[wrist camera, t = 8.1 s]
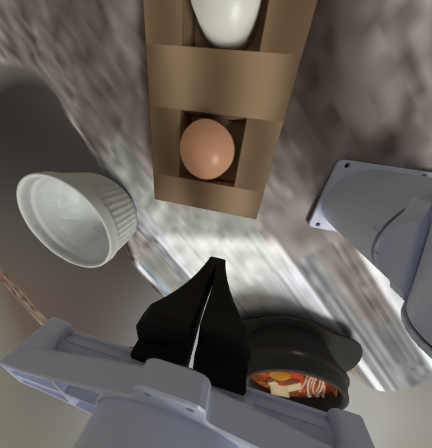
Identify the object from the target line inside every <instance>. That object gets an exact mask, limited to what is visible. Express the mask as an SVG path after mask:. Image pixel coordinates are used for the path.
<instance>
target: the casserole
mask: <svg viewBox="0 0 432 448" xmlns="http://www.w3.org/2000/svg"><path fill="white" fill-rule="evenodd" d="M242 320H243V322H244V324H245V326H246V328H247V329H248V331H249V335H250V340H251V346H252V356H251V358H250V360H249V362H248V372H247V374H246V386H247V387H250V388H254V389H257V390H260V391H263V392H266V393H269V394H272V395H275V396H278V397H281V398H284V399H287V400H290V401H293V402H297V403H300V404H303V405H306V406H309V407H312V408H315V409H318V410H321V411H324V412H328V411H329V410H330V409H332V408H338V409H342V410H343V409H345V408H346V407H347V406H348V403H349V395H348V387H349V385H350V380H349V377H348V375H347V373H346V372H347V371H349V370H351V369H352V368H354V367H355V366H356V365H357V364H358V363H359V361H360V359H361V357H362V348H361V345H360V344H359V343H358V342H357V341H355V340H354V339H351V338H348V337H345V336H343V335H340V334H337V333H334V332H332V331H330V330H328V329H326V328H324V327H322V326H320V325H318V324H316V323H314V322H311V321H308V320H305V319H302V318H297V317H292V316H280V315H279V316H265V317H260V318H254V319H242Z"/></svg>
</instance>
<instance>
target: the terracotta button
mask: <svg viewBox="0 0 432 448" xmlns="http://www.w3.org/2000/svg"><path fill="white" fill-rule="evenodd" d="M180 154H181V159H182V161H183V163H184V165H185V167H186V168H187V170H188V171H189V172H190V173H191V174H193V175H194V176H196V177H198V178H201V179H213V178H216V177H218V176H220V175H221V174H223V173H224V172H225V171H226V170H227V169H228V168H229V167H230V166H231V164H232V163H233V161H234V158H235V155H236V144H235V141H234V138H233V136H232V135H231V133H230V132H229V131H228V130H227V129H226V128H225V127H223V126H222V125H221V124H220V123H218V122H216V121H214V120H211V119H200V120H197V121H195V122H193V123H192V124H190V125H189V126H188V127H187V128H186V130H185V131H184V133H183V135H182V138H181V142H180Z"/></svg>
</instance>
